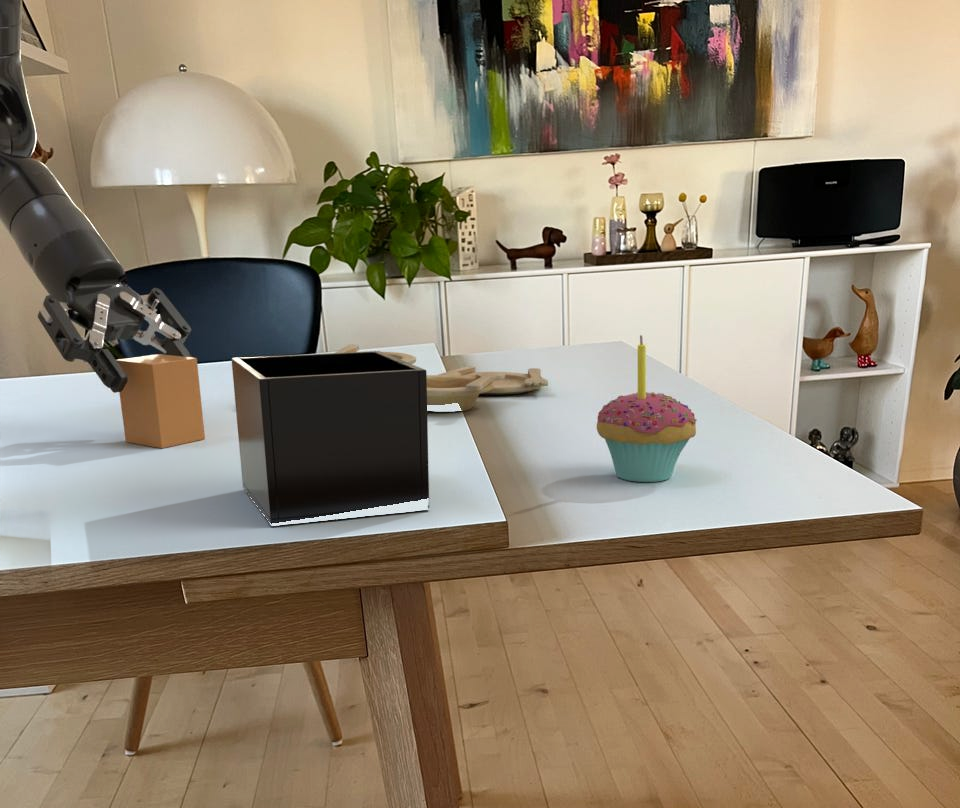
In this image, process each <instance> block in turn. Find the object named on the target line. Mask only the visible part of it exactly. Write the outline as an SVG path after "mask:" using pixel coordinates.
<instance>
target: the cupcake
mask: <svg viewBox="0 0 960 808" xmlns="http://www.w3.org/2000/svg"><path fill="white" fill-rule="evenodd" d="M643 338H644V337H643V335H642V334H640V335H639V344H637V392H635V393H630V394H626V395H619V396H617V397H616V398H615V399H612V400H610V401H608V402H607V403H606V404H604V405H602V408H601V410H599V412H598V415H597V417H596V419H597V422H596V431H597V433H598V435H599V436H600V437H601V438H602V439H604V440H605V443H606V446H607V448H608V450H609V451H608V452H609V453H610V457H611V461H612V464H613V468H614V473H615V475H616V477H617V478H619V479H621V480H625V481H629V482H638V483H658V482H663V481H667V480H669V479H671V477H672V475H673V472H674V470H675V466H676V464H677V461H678V459H679V457H680V455H681V453H682V451H683V450H684V448H685V447H686V445H687V443H688V442H689V441H690V439H692V438H694V437H695V436H696V435H697V427H696V423H697V421H698V420H697V419H696V417H695V413H694V412H692V409H691V408H689V406H688V405H687V404H684V403H681V401H680V400H677V399H676V398H674V397H673V396H672V395H666V394H665V393H660V392H658V393H655V392H653V391H652V392H647V391H646V390H647V389H646V387H647V386H646V380H647V379H646V376H647V375H646V371H647V368H646V366H647V364H646V363H647V358H646V357H647V356H646V354H647V352H646V351H647V348H646V344H645V343H643V341H644V340H643Z"/></svg>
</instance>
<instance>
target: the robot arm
mask: <svg viewBox="0 0 960 808" xmlns="http://www.w3.org/2000/svg"><path fill="white" fill-rule="evenodd" d="M22 22H23V0H0V222H1V224H2V225H3V227H4V228H5V229H6V231H7V232H8V233H9V235H10V237H11V238H12V239H13V241H14V244H15V245H16V246H17V249H18V250H19V253H20V254H21V256H22V258H23V259H24V261H25V262H26V264H27V265H28V266H29V268H30V269H31V271H32V272H33V273H34V275H35V276H36V278H37V280H38V281H39V282H40V283H41V285H42V286H43V288H44V289H45V291H46V292H47V293H48V294H47V295H45V298H44V299H43V302H42V304H41V307H40V309H39V311H38V313H37V319H38V320H39V322H40V323H41V325H42V327H43V329H44V330H45V331H46V334H47V335H48V336H49V338H50V340H51V341H52V342H53V344H54V345H55V347H56V349H57V350H58V352H59V354H60V355H61V357H62V358H63V360H65V361H67V362H70V363H73V362H75V360H79V361H80V360H82V361H83V363H85V364H86V365H88V366H90V367H91V368H92V370H93V371H94V372H95V374H96V376H97V377H98V378H99V379H100V382H102V384H103V385H104V386H105V387H106V388H108V389H110V390H111V392H113V393H114V394H115V393H119V392H122V390H123V389H124V387H125V385H126V383H127V381H128V378H127V375H126V374H125V373H124V371H123V370H122V368H121V367H120V365H119V364H118V363H117V361H116V360H117V359H116V358H115V356H114V355H113V354H112V352H110V350H109V349H108V348H103V347H104V342H105V341H106V343H109V342H115V341H117V340H134V341H136V342H137V343H139V344H141V345H142V346H148V345H150V346H152V347H154V348H155V349H157V350H158V351H160V352H162V354H164V355H173V356H182V357H191V358H193V356H192V355H191V353H190V352H189V350H188V349H187V347H186V346H185V344H184V343H185V341H186V340H187V338H188V336H189V335H190V333H191V332H192V328H191V325H189V323H188V322H187V321H186V319H185V318H184V317H183V316H182V315H181V313H180V312H179V311H178V310H177V308H176V307H175V306H174V304H173V303H172V302H171V301H170V300H169V298H168V297H167V296H166V295H165V293H164V292H163V290H161V288H157V287H152V289H151V291H150V292H149V293H148V294H141V295H140V294H139V293H138V292H136V291H135V290H133V288H131V286H129V283H128V281H127V276H126V272H125V269H124V266H123V265H122V264H121V262H120V261H119V260H118V259H117V257H116V256H115V254H114V253H113V251H112V250H111V249H110V247H109V246H108V245H107V243H106V242H105V240H104V239H103V238H102V236H101V235H100V233H99V232H98V231H97V229H96V228H95V227H94V225H93V224H92V222H91V221H90V220H89V218H88V216H86V215H85V213H84V212H82V210H81V209H80V208H79V207H78V206H77V205H76V204H75V203H74V202H73V200H72V199H71V197H70V196H69V195H68V193H67V192H66V190H65V189H64V187H63V186H62V185H61V183H60V182H59V181H58V180H57V177H55V175H54V174H53V173H52V171H51V170H50V168H48V166H46V165H45V164H44V163H43V162H41V161H40V160H38V159H36V158H33V157H32V155H33V153H34V152H35V148H36V144H37V131H36V124H35V121H34V116H33V114H32V109H31V105H30V102H29V96H28V93H27V86H26V83H25V77H24V72H23V67H22V59H21V51H22V28H23V27H22V26H23V24H22ZM143 320H145V321H146V322H147V323H148V327H147V329H146V330H142V329H141V327H142V326H143ZM74 324H76V325H78V326H79V327H81V328H82V329H83V335H82V336H81V334H80V332H79V331H78V329H77V328H76V326H75V325H74ZM173 325H174V327H176V328H174V327H173ZM155 332H157V333H159V334H161V335H163V336H165V339H163V338H161V337H160V336H158V335H156V334H155Z"/></svg>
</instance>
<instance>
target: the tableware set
mask: <svg viewBox="0 0 960 808" xmlns="http://www.w3.org/2000/svg"><path fill="white" fill-rule="evenodd" d="M346 352H360V345H359V344H355V343H354V344H347V345H345V346H344V347H342V348H341V349H338V350H337V351H335V352H334V353H346ZM382 352H383V353H385V354H388V355H390V356H393V357H395V358H398V359H400V360H403V361H405V362H407V363H410V364H412V365H414V364H415V363H416V362H417V357H416V356H414V355H412V354H409V353H404V352H395V351H382ZM541 372H542V370H541V368H537V367H531V368H527V373H525V372H524V373H523V372H515V371H514V372H513V371H476V366H474V365H473V366H471V365H470V366H463V367H459V368H456V369H452V370H449V371H445V372H442V373H439V374H429V375H428V374H427V405H445V404H452V403H458V404H459V406H460V408H461V410H462V412H461V413H463V412H466V411H469V410H472V408H473V407H474V405H475V403H476V401H477V400H478V398H479V395H485V396H486V395H487V396H488V395H496V396H497V395H498V396H499V395H518V394H525V393H528V392H529V393H530V392H531V391H534V390H538V389H541V388H543V387H548V385H549V381H548V379H547V378H544V377H542V375H541V374H542V373H541Z"/></svg>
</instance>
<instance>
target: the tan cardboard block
mask: <svg viewBox="0 0 960 808" xmlns="http://www.w3.org/2000/svg"><path fill="white" fill-rule="evenodd" d="M115 360H116V361H117V363H118V364H119V365H120V367H121V368H122V370H123V371H124V373H125V374H126V375H127V378H128V381H127V383H126V385H125V387H124V389H123V390H122V392H118V394H119V400H120V408H121V415H122V416H121V417H122V424H123V431H124V432H123V433H124V438H125V443H130V444H136V445H140V446H147V447H153V448H158V449H166V448H170V447H174V446H179V445H184V444H188V443H194V442H198V441H202V440H206V435H205V434H206V433H205V425H204V424H205V423H204V416H203V406H202V395H201V386H200V377H199V367H198V366H199V365H198V358H197V357H192V358H191V357H182V356H173V355H165V354H164V353H158V354H150V355H142V356H135V357H128V358H127V357H126V358H118V359H115Z"/></svg>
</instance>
